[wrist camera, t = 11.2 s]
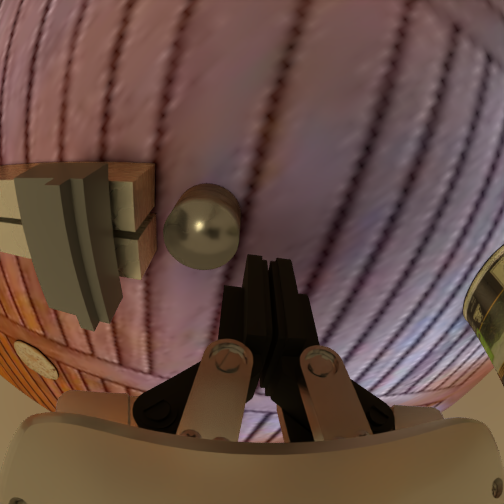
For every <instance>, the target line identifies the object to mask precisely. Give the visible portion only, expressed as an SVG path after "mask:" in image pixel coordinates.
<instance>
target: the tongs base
mask: <svg viewBox="0 0 504 504" xmlns="http://www.w3.org/2000/svg"><path fill="white" fill-rule="evenodd" d="M240 223H241V209H240V206H239V203H238V201H237V199H236V198H235V197H234V195H233V194H232V193H231V192H229V191H228V190H227V189H225V188H223V187H221V186H219V185H216V184H207V183H206V184H199V185H196V186H193V187H191V188H189V189H188V190H187V191H185V192H184V193H183V195H182V196H181V197H180V199H179V200H178V202H177V204H176V205H175V207H174V208H173V210H172V212H171V213H170V215H169V216H168V218H167V220H166V222H165V225H164V229H163V237H164V242H165V245H166V247H167V249H168V251H169V252H170V254H171V255H172V256H173V257H174V258H175V259H176V260H177V261H179V262H180V263H182V264H184V265H185V266H188V267H190V268H194V269H199V270H209V269H214V268H218V267H220V266H222V265H224V264H226V263H227V262H228V261H229V260H230V259H231V258H232V257H233V256H234V254H235V253H236V251H237V248H238V244H239V234H240ZM112 230H113V238H114V246H115V253H116V260H117V267H118V273H119V276H121V277H127V278H133V279H139V280H142V278H143V276H144V274H145V272H146V270H147V268H148V266H149V264H150V262H151V260H152V258H153V256H154V254H155V252H156V250H157V235H156V214H155V213H149V214H148V215H147V217H146V218H145V219H144V221H143V222H142V223H141V225H140V226H139V227H138V229H137V230H136V231H135V232H132V231H124V230H115V229H112ZM0 252H5V253H9V254H13V255H17V256H21V257H26V258H30V259H31V255H30V252H29V248H28V245H27V241H26V238H25V234H24V230H23V225H22V221H21V219H15V218H6V217H0Z"/></svg>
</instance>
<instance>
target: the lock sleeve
mask: <svg viewBox="0 0 504 504" xmlns="http://www.w3.org/2000/svg"><path fill="white" fill-rule="evenodd" d="M14 184H15V190H16V196H17V202H18V207H19V212H20V217H21V221H22V225H23V230H24V234H25V238H26V241H27V245H28V248H29V252H30V255H31V259H32V262H33V265H34V268H35V271H36V274H37V277H38V280H39V283H40V285H41V288H42V291H43V293H44V296H45V298H46V301H47V303H48V306H49V308H53V309H56V310H59V311H63V312H66V313H70V314H74V315H76V316H77V319H78V321H79V324H80V326H81V328H84V329H87V330H91V331H95V329H96V327H97V325H98V323H99V321H101V322H105V323H109V324H110V322H111V320H112V318H113V316H114V314H115V312H116V310H117V308H118V306H119V304H120V302H121V300H122V298H123V295H122V290H121V284H120V279H119V273H118V267H117V260H116V253H115V246H114V238H113V230H112V220H111V209H110V196H109V178H108V163H40V164H38V165H36V166H34V167H33V168H31V169H29V170H27V171H25V172H24V173H22V174H20V175H18V176H17V177H15V178H14Z"/></svg>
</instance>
